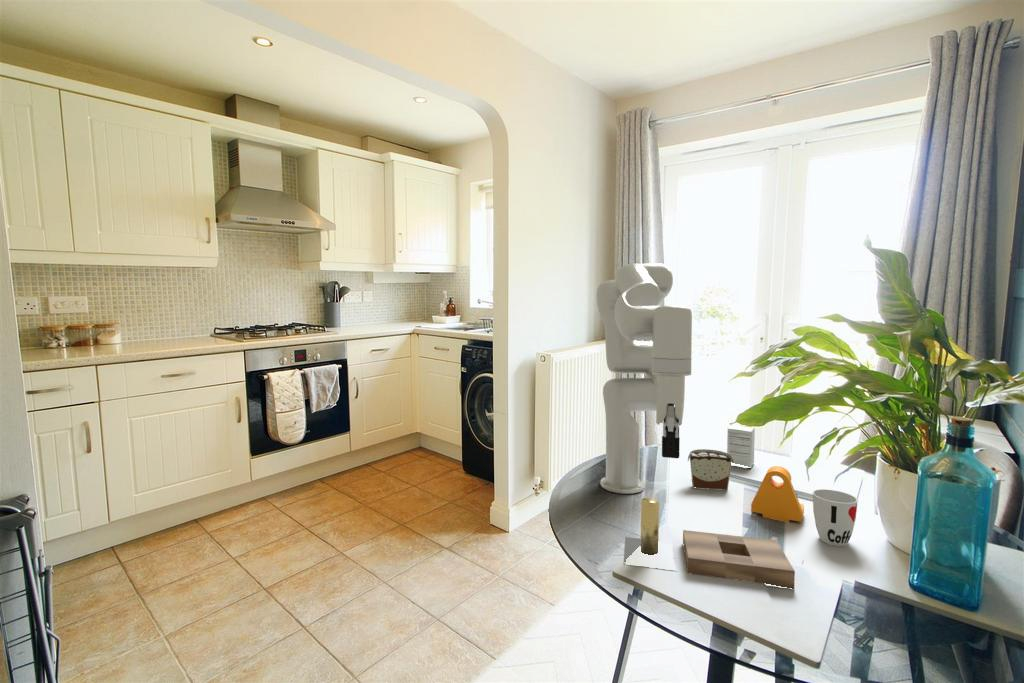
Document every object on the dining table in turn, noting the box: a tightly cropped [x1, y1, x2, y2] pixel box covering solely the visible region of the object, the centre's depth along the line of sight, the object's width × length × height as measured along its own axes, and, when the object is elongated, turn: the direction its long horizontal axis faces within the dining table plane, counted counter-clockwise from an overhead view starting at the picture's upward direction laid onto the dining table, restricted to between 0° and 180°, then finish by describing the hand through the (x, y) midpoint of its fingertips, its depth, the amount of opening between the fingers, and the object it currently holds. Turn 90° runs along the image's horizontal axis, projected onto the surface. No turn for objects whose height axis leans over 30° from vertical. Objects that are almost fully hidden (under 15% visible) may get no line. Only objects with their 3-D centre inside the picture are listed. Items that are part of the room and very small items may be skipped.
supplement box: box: [726, 424, 756, 468], centre depth 155 cm, size 7×7×13 cm
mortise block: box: [682, 529, 796, 590], centre depth 93 cm, size 12×18×4 cm, turn 74°
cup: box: [812, 488, 858, 547], centre depth 103 cm, size 8×8×10 cm
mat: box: [623, 536, 641, 563], centre depth 97 cm, size 12×10×1 cm
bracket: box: [750, 465, 805, 523], centre depth 116 cm, size 11×7×12 cm, turn 54°
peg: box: [640, 497, 660, 555], centre depth 97 cm, size 4×4×11 cm
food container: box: [687, 448, 734, 491], centre depth 136 cm, size 12×6×10 cm, turn 80°
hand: (670, 450), depth 95 cm, fingers open, 9 cm apart
